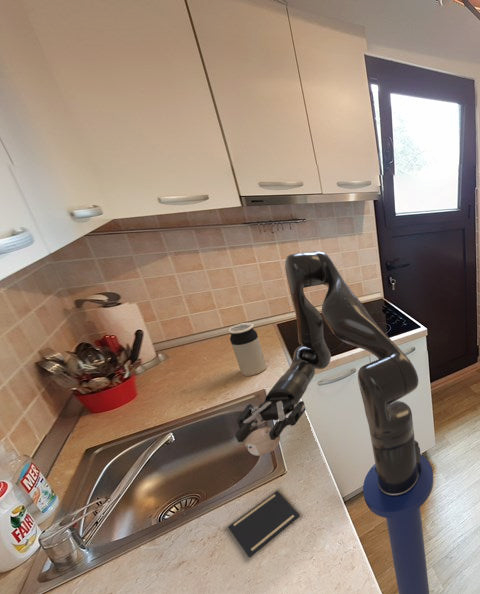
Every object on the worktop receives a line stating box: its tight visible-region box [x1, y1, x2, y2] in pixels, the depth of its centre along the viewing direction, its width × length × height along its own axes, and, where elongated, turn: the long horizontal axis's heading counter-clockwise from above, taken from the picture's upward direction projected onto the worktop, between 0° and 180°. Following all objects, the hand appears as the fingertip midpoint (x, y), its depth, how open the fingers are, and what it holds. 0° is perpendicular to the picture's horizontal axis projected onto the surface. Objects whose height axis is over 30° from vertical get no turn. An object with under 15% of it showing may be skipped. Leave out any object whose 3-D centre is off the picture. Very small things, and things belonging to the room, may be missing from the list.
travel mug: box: [227, 322, 268, 377], centre depth 119 cm, size 8×8×18 cm
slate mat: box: [228, 490, 300, 558], centre depth 71 cm, size 10×10×1 cm
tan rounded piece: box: [244, 425, 281, 457], centre depth 76 cm, size 7×6×8 cm
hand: (255, 438), depth 74 cm, fingers closed on tan rounded piece, 6 cm apart
